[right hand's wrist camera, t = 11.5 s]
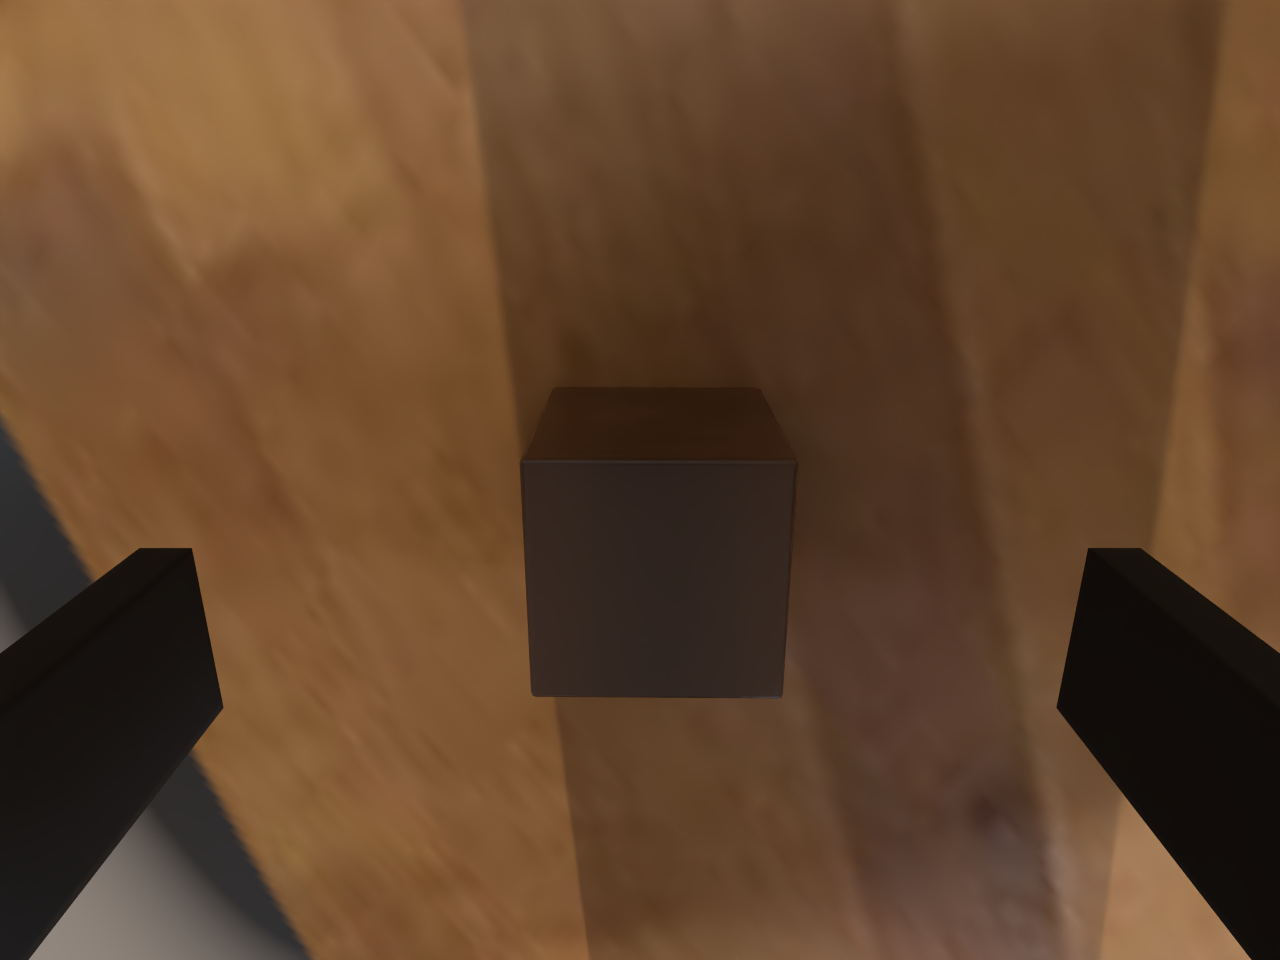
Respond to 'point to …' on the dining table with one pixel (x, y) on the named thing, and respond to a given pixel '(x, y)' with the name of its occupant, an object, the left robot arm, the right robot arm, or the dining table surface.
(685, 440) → the walnut block
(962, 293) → the dining table surface
